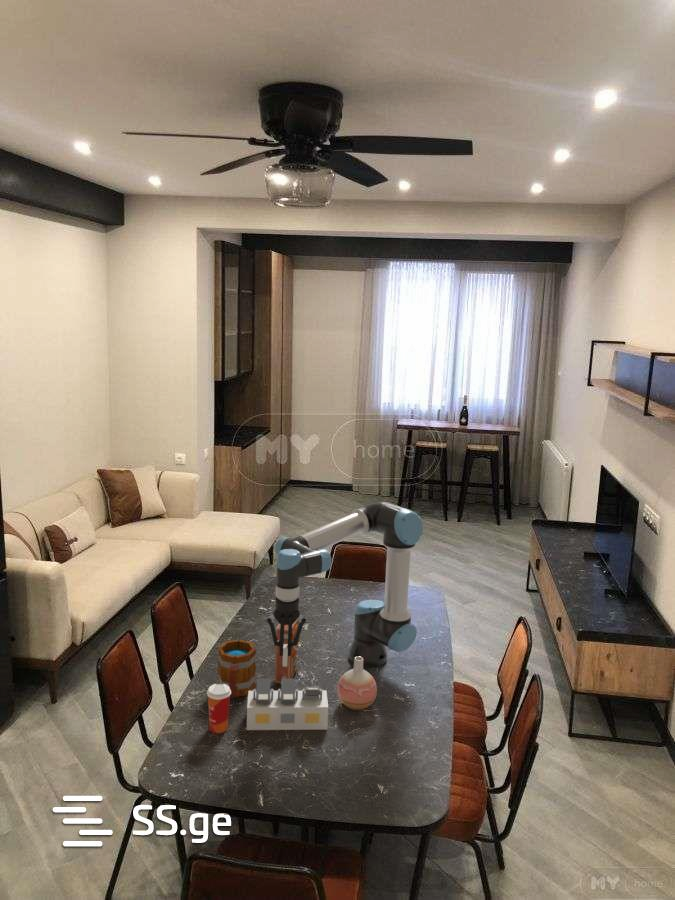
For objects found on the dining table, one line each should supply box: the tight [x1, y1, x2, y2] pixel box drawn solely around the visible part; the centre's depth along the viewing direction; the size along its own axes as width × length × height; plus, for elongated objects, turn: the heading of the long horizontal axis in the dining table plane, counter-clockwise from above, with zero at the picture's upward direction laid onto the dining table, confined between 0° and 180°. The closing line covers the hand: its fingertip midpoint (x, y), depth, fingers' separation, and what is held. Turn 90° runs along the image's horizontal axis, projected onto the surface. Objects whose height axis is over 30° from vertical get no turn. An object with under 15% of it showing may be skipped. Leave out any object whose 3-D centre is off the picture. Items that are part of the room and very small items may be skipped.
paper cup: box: [206, 683, 231, 734], centre depth 225 cm, size 8×8×14 cm
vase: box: [337, 656, 378, 711], centre depth 242 cm, size 14×14×18 cm
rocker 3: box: [304, 686, 321, 695], centre depth 231 cm, size 5×9×2 cm, turn 5°
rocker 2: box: [280, 678, 296, 704], centre depth 230 cm, size 5×9×2 cm, turn 5°
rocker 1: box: [255, 678, 271, 704], centre depth 229 cm, size 5×9×2 cm, turn 5°
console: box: [246, 688, 329, 731], centre depth 231 cm, size 26×10×11 cm, turn 95°
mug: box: [217, 638, 257, 698], centre depth 247 cm, size 20×14×15 cm
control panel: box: [273, 618, 301, 684], centre depth 259 cm, size 21×7×15 cm
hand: (284, 664), depth 231 cm, fingers closed
